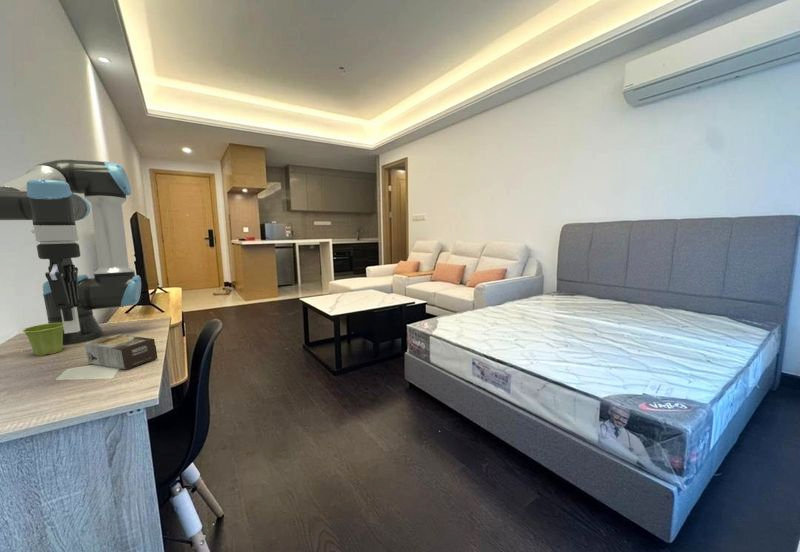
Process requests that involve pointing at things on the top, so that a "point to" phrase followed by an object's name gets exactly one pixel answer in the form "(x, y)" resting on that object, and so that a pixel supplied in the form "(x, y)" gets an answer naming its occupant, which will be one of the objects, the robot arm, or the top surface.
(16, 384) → the top surface
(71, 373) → the cream flat rectangular sheet
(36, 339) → the plant pot
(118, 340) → the coffee box
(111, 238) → the robot arm
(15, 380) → the top surface
